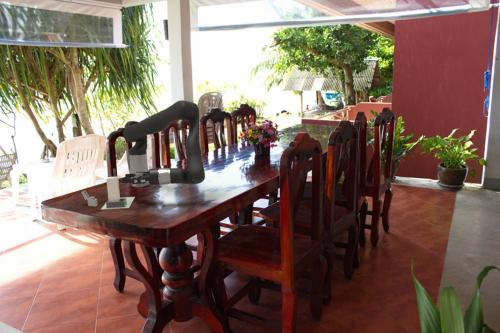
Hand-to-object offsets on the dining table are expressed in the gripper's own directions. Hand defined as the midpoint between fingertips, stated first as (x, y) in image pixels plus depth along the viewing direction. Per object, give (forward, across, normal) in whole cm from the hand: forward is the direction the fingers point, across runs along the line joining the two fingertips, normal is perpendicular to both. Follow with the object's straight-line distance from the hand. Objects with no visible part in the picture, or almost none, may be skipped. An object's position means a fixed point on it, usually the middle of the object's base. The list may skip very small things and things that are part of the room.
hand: (123, 178), depth 195 cm
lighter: (+16, -3, +14) cm, 22 cm away
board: (+4, -5, +14) cm, 15 cm away
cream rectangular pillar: (+5, 0, +12) cm, 13 cm away
